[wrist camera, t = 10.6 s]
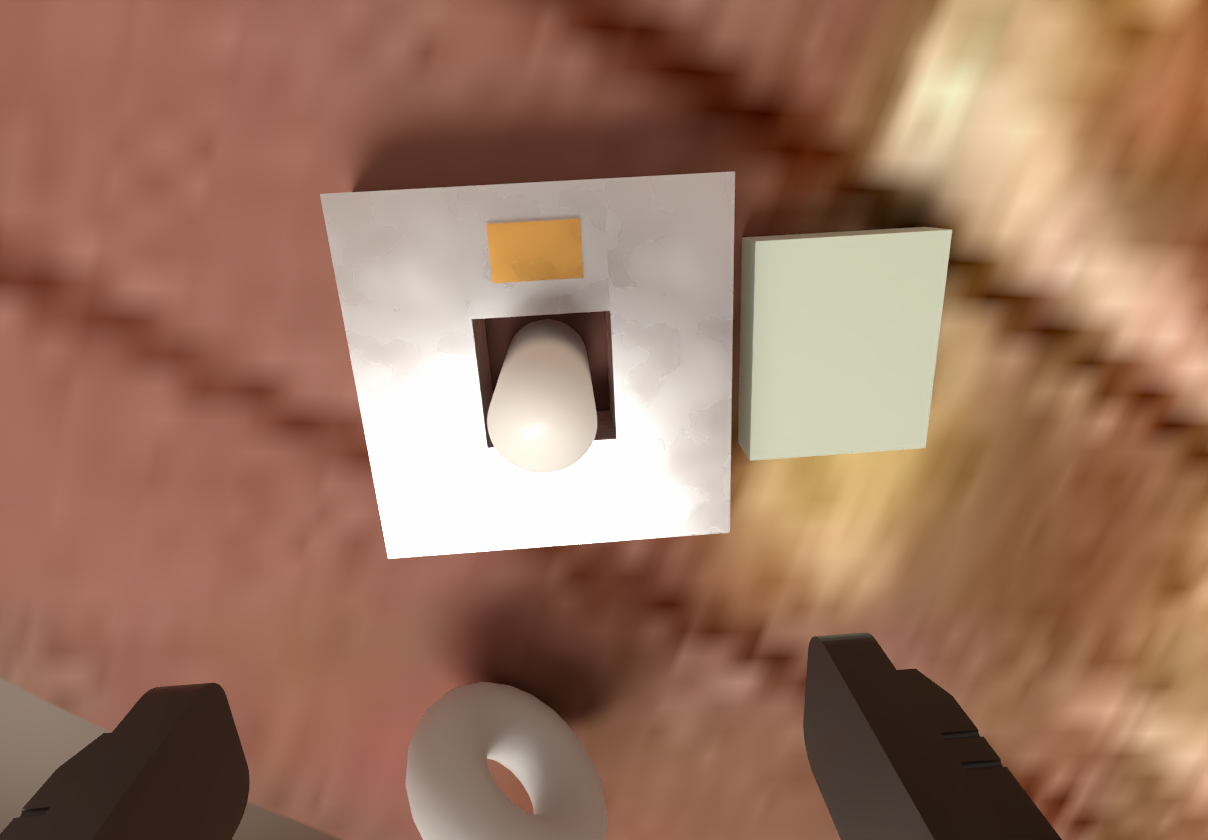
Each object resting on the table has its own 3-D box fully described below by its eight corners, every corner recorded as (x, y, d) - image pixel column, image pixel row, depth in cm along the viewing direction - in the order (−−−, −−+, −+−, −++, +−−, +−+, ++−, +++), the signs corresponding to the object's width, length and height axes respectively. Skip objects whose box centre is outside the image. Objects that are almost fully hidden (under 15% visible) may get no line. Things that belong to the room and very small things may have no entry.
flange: (712, 173, 26) (736, 171, 22) (711, 494, 30) (730, 534, 27) (351, 193, 25) (317, 194, 22) (407, 517, 30) (386, 561, 26)
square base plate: (924, 226, 27) (952, 229, 25) (902, 431, 30) (925, 447, 28) (741, 237, 27) (755, 241, 25) (737, 443, 30) (749, 460, 28)
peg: (585, 317, 27) (595, 367, 20) (589, 394, 28) (599, 469, 21) (503, 321, 27) (481, 373, 20) (510, 399, 28) (492, 476, 21)
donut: (614, 723, 35) (634, 923, 25) (575, 764, 35) (580, 973, 26) (455, 631, 32) (411, 816, 23) (416, 678, 33) (358, 875, 24)
